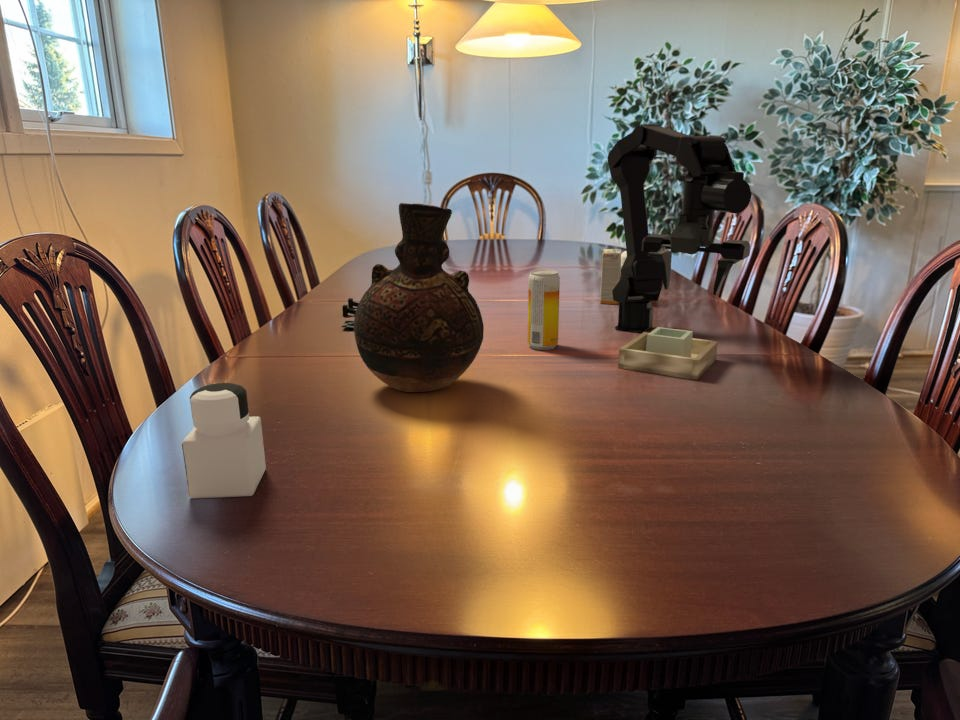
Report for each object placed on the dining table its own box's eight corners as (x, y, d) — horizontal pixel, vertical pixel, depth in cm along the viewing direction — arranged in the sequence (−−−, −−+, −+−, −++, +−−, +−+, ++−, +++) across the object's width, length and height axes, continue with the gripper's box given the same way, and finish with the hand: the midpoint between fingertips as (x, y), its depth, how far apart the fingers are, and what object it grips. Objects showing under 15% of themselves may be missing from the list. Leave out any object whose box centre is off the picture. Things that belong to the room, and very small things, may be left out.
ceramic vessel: (345, 403, 106) (332, 206, 98) (368, 369, 123) (359, 198, 114) (481, 405, 105) (479, 206, 97) (485, 370, 122) (485, 198, 113)
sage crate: (645, 361, 124) (647, 334, 123) (655, 352, 129) (657, 326, 128) (681, 366, 121) (683, 339, 119) (690, 357, 126) (692, 331, 125)
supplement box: (618, 304, 174) (621, 253, 170) (599, 303, 175) (601, 252, 171) (619, 298, 182) (621, 248, 178) (600, 297, 183) (602, 248, 179)
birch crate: (618, 367, 123) (619, 349, 122) (643, 349, 135) (644, 331, 134) (697, 380, 116) (698, 360, 115) (716, 359, 128) (717, 341, 127)
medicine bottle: (207, 471, 84) (195, 379, 80) (266, 469, 85) (257, 377, 81) (188, 499, 77) (174, 400, 74) (253, 497, 78) (242, 397, 74)
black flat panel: (332, 331, 150) (401, 332, 150) (332, 318, 149) (401, 319, 150) (353, 304, 179) (410, 305, 179) (352, 293, 178) (410, 294, 178)
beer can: (561, 344, 138) (564, 270, 134) (552, 352, 133) (553, 275, 129) (533, 341, 141) (535, 268, 136) (522, 348, 136) (523, 273, 131)
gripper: (633, 209, 124) (627, 293, 128) (740, 215, 114) (730, 306, 119) (654, 204, 132) (648, 283, 137) (755, 209, 123) (745, 294, 128)
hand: (690, 291), depth 130 cm, fingers open, 9 cm apart
